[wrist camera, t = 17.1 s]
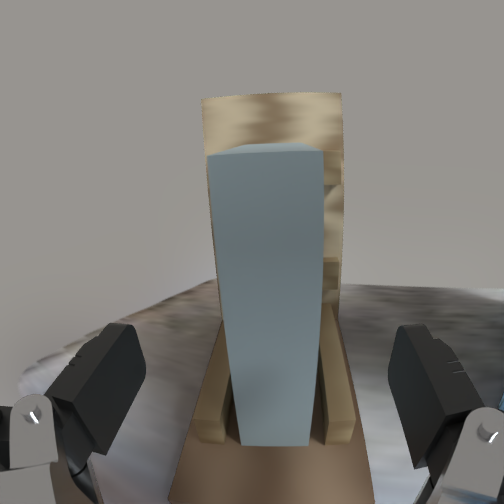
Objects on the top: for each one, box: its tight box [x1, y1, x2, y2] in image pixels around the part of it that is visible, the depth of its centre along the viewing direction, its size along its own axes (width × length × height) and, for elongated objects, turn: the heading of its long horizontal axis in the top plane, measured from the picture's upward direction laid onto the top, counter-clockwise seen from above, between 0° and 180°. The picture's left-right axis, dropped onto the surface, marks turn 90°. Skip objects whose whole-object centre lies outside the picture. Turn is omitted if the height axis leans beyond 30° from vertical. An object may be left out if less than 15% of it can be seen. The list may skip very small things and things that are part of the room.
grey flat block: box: [207, 143, 324, 446], centre depth 19 cm, size 5×12×16 cm, turn 175°
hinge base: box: [168, 92, 375, 504], centre depth 19 cm, size 11×22×21 cm, turn 175°
